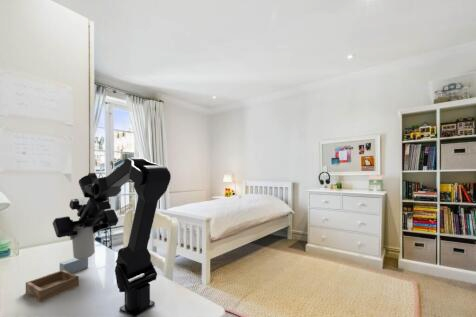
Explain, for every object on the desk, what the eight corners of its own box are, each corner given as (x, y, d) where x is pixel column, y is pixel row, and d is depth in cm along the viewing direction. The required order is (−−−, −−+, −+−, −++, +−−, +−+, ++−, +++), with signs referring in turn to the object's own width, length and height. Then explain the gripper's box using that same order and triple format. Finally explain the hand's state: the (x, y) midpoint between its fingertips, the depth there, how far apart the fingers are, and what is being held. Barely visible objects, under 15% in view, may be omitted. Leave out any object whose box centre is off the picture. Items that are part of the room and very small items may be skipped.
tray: (78, 286, 75) (78, 276, 75) (40, 302, 67) (40, 291, 67) (63, 278, 80) (63, 269, 80) (25, 292, 72) (25, 282, 72)
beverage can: (70, 261, 80) (68, 226, 80) (77, 254, 86) (74, 221, 86) (92, 258, 82) (89, 224, 82) (97, 251, 88) (94, 219, 88)
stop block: (88, 267, 89) (88, 256, 89) (63, 276, 82) (63, 264, 82) (83, 265, 91) (83, 255, 91) (59, 274, 84) (59, 262, 84)
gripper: (114, 187, 90) (100, 214, 96) (54, 193, 74) (42, 223, 80) (125, 210, 85) (110, 236, 91) (64, 221, 70) (50, 251, 76)
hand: (80, 236), depth 85 cm, fingers closed on beverage can, 6 cm apart
